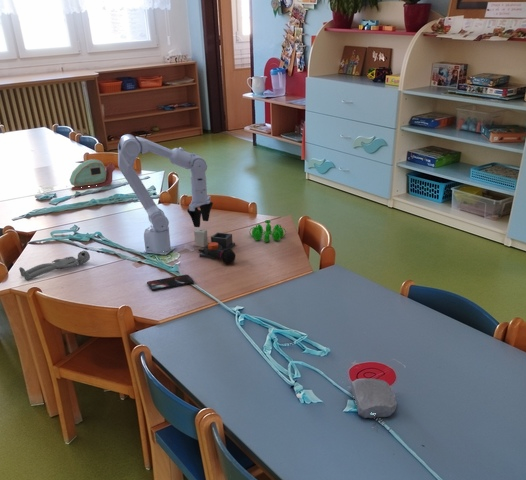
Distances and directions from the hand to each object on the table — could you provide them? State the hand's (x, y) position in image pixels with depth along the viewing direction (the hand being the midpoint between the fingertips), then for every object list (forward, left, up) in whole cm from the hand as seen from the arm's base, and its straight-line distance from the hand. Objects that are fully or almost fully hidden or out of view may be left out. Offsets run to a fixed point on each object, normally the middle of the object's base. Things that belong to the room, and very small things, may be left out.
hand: (201, 223), depth 225 cm
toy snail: (-94, +62, -9) cm, 113 cm away
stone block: (+85, -82, -9) cm, 119 cm away
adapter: (+8, -4, -9) cm, 13 cm away
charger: (-1, 0, -9) cm, 9 cm away
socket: (+8, 0, -9) cm, 12 cm away
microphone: (+11, -11, -7) cm, 17 cm away
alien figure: (-39, -41, -9) cm, 57 cm away
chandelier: (+21, +17, -9) cm, 29 cm away
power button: (+8, -7, -6) cm, 13 cm away
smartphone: (+5, -37, -8) cm, 38 cm away
